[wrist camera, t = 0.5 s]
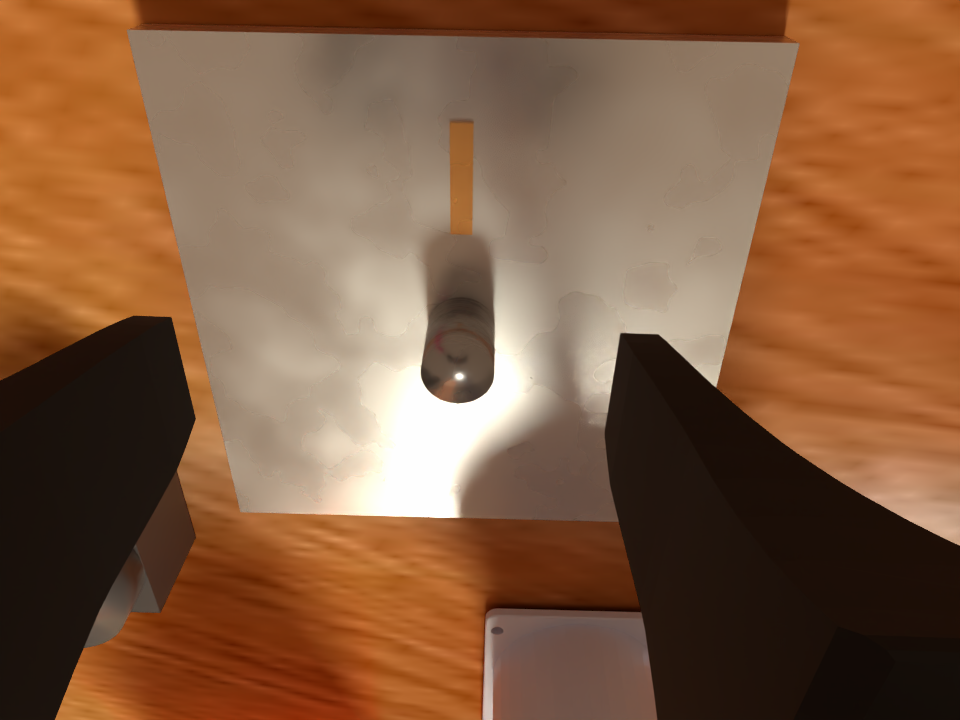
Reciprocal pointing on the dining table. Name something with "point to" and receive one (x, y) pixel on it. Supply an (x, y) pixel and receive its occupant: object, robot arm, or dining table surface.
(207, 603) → the dining table surface
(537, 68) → the flat square panel
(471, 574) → the dining table surface
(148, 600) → the knob
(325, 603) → the dining table surface
